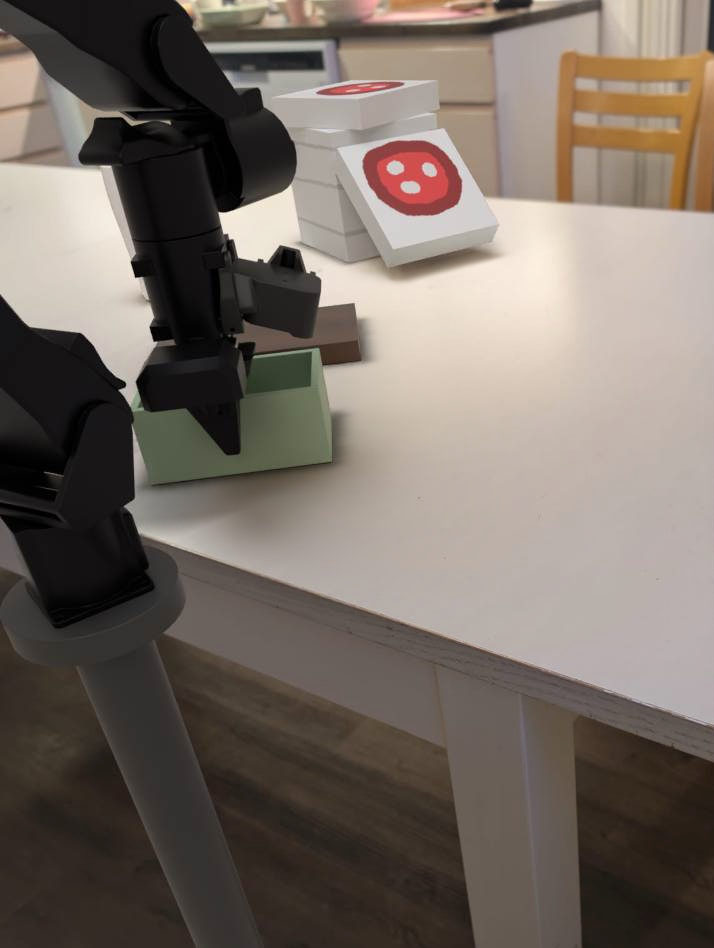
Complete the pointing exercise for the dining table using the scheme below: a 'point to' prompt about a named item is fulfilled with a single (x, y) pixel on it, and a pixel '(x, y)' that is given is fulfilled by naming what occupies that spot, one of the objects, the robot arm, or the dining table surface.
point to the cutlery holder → (246, 425)
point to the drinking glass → (120, 215)
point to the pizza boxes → (380, 173)
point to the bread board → (330, 336)
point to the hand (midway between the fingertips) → (233, 453)
